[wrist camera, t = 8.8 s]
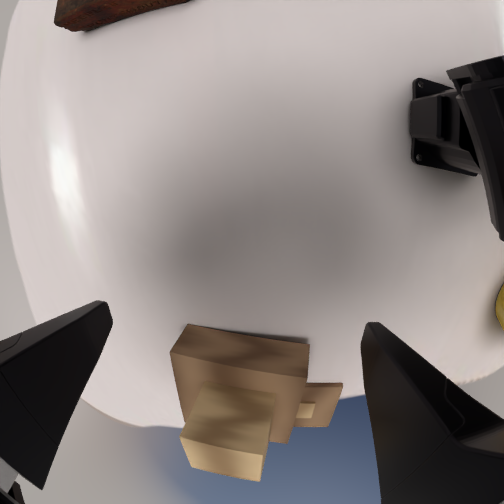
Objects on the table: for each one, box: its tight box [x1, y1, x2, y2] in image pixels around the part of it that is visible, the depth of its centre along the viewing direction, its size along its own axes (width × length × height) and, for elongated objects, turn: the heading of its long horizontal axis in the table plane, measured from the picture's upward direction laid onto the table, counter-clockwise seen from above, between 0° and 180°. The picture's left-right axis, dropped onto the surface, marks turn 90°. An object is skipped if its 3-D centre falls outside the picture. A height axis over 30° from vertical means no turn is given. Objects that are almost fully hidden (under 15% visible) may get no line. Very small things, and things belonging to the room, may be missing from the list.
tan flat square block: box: [170, 324, 310, 444], centre depth 24 cm, size 11×11×4 cm
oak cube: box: [180, 381, 276, 481], centre depth 20 cm, size 6×6×6 cm
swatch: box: [293, 383, 343, 427], centre depth 28 cm, size 8×8×1 cm
